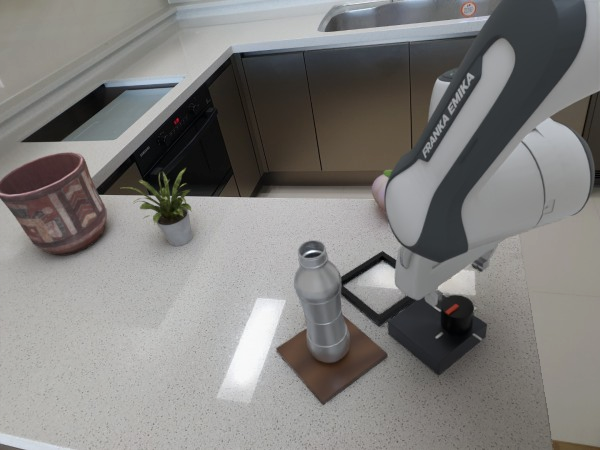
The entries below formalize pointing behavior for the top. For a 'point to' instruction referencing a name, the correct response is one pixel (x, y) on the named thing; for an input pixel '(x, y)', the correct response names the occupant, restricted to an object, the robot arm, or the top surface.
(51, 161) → the pottery
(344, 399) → the top surface
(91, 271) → the top surface
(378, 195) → the decorative fruit
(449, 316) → the knob
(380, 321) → the black flat square frame
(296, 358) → the trivet
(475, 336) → the panel
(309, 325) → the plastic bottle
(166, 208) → the house plant
